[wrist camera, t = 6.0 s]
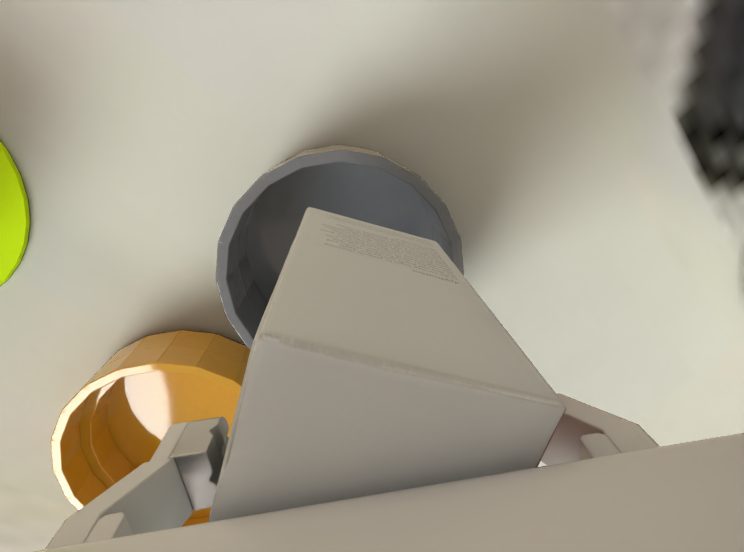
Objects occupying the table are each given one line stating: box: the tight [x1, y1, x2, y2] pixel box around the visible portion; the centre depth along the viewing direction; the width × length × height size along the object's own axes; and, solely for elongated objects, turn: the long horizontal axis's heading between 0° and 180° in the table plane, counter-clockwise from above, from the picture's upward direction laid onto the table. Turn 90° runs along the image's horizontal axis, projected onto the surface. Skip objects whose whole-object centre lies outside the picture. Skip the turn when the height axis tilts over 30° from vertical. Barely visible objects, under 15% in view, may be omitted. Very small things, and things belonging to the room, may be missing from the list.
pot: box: [216, 145, 464, 350], centre depth 28 cm, size 14×14×6 cm
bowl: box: [51, 330, 251, 527], centre depth 32 cm, size 15×15×5 cm
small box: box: [208, 207, 566, 522], centre depth 15 cm, size 8×6×13 cm
